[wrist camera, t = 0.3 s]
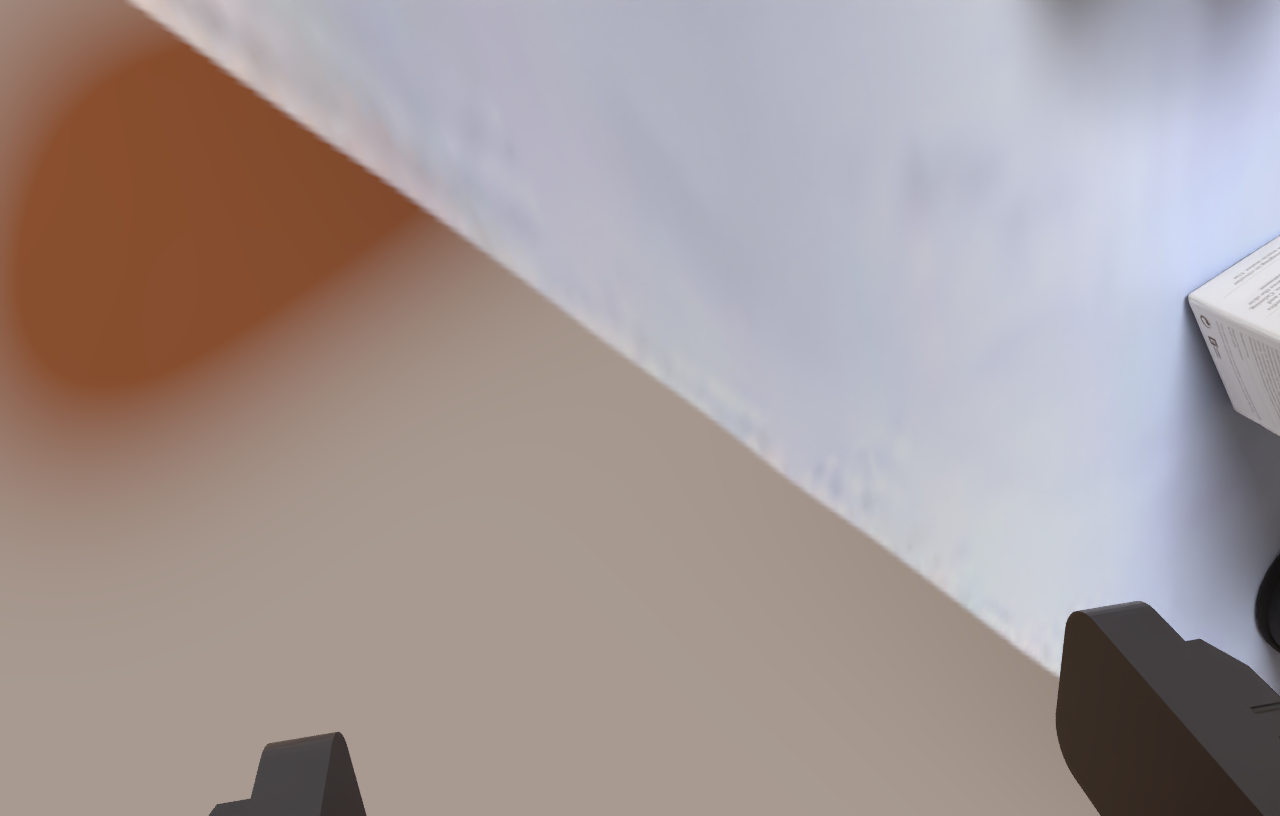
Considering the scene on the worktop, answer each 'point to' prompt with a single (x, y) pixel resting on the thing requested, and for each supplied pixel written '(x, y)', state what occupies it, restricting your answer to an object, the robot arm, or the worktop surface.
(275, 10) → the worktop surface
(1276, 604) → the aerosol can
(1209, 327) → the skincare box
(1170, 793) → the robot arm
